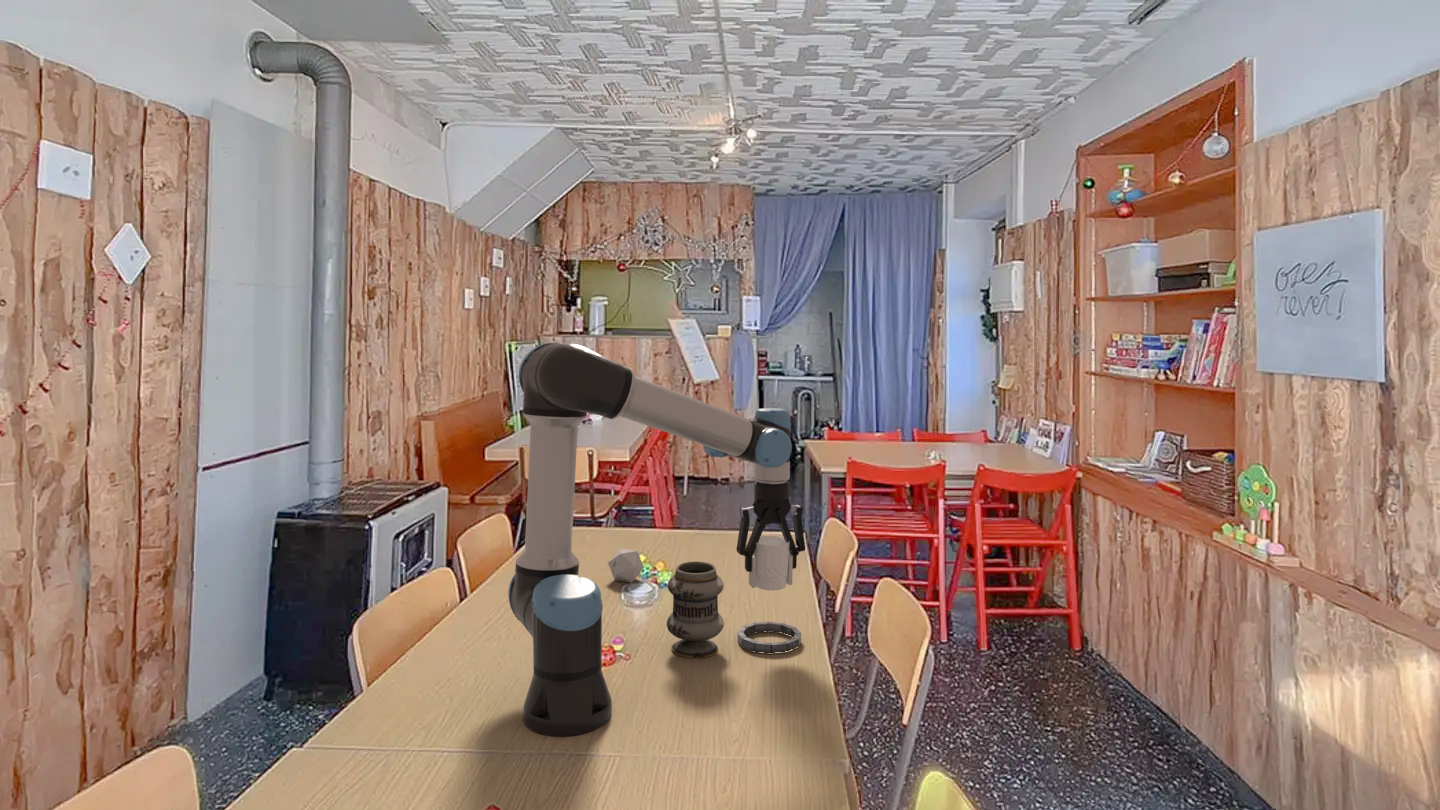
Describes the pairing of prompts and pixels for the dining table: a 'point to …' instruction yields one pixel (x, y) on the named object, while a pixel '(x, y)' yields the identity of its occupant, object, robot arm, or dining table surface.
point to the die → (625, 565)
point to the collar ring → (767, 646)
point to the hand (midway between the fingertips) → (770, 584)
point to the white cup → (771, 562)
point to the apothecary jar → (695, 609)
